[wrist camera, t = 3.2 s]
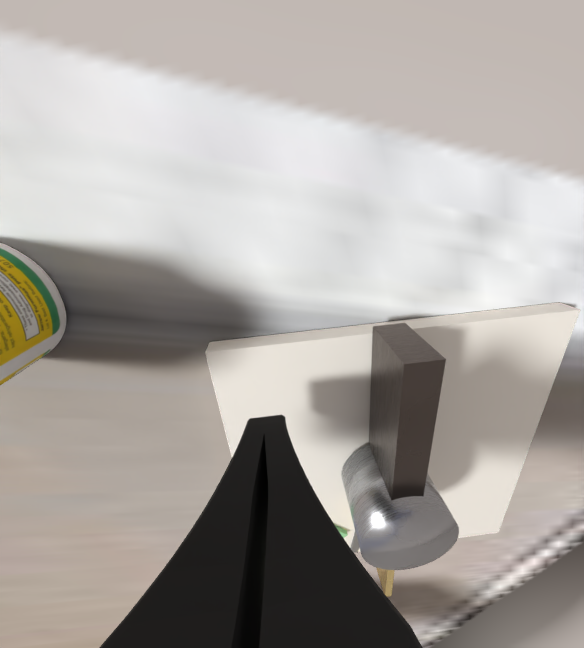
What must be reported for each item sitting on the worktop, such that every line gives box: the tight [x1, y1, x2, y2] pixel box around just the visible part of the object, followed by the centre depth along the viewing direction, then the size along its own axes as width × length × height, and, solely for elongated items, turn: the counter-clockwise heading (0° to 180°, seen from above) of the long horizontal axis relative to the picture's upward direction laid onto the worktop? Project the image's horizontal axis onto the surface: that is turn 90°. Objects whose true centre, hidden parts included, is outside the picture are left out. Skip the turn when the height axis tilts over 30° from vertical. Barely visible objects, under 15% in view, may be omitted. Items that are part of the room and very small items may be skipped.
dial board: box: [205, 302, 580, 552], centre depth 16 cm, size 17×17×1 cm
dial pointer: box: [341, 323, 459, 597], centre depth 14 cm, size 17×4×4 cm, turn 5°
